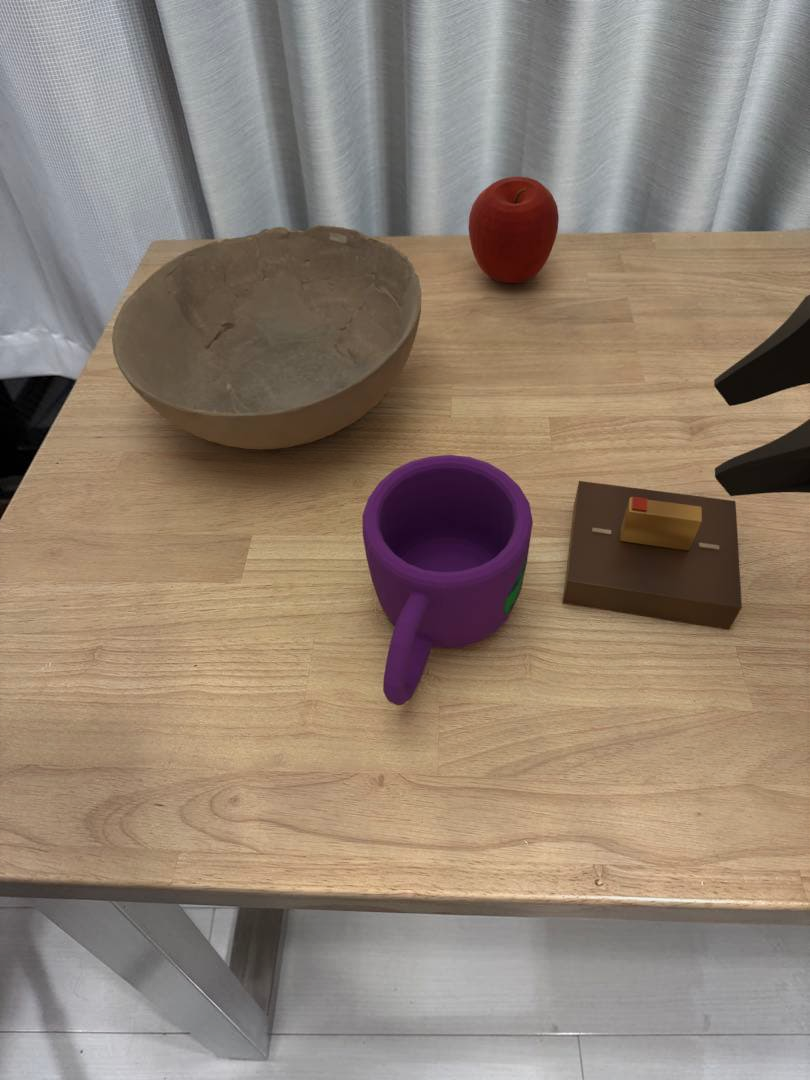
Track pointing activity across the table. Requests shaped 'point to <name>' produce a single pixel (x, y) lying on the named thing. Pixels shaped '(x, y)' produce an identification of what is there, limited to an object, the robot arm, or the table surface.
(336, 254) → the bowl
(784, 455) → the robot arm
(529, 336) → the table surface
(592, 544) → the lock plate
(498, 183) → the apple
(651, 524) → the block with red patch
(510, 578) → the mug
